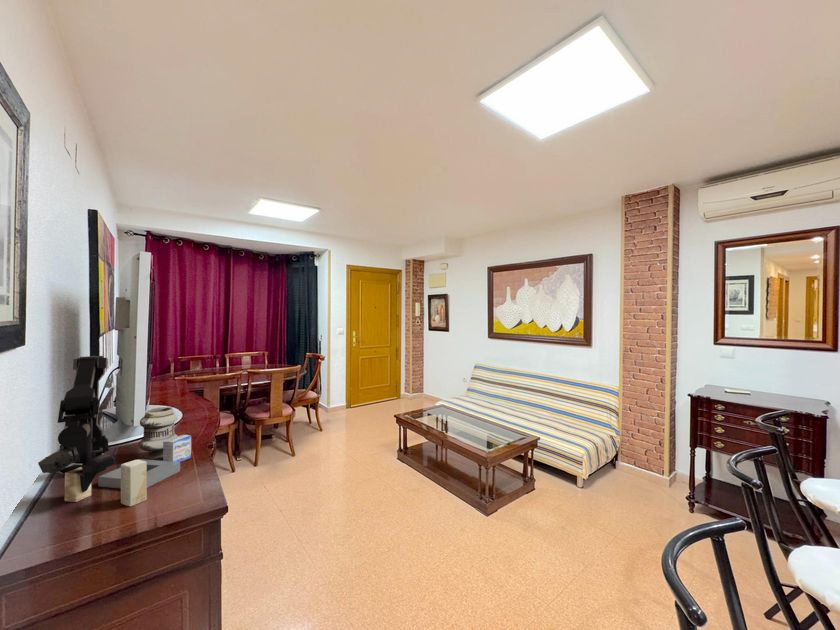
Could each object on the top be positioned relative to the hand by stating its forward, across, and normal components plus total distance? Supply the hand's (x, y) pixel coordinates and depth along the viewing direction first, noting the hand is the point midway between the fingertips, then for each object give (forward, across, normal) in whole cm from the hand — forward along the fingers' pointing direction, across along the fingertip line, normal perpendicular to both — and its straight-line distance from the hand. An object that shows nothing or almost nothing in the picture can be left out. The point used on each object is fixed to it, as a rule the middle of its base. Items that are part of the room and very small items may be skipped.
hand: (78, 490), depth 102 cm
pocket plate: (+2, +6, +14) cm, 15 cm away
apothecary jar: (+2, -5, +31) cm, 31 cm away
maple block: (+2, 0, 0) cm, 2 cm away
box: (+2, +18, +1) cm, 18 cm away
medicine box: (+2, +6, +28) cm, 29 cm away
